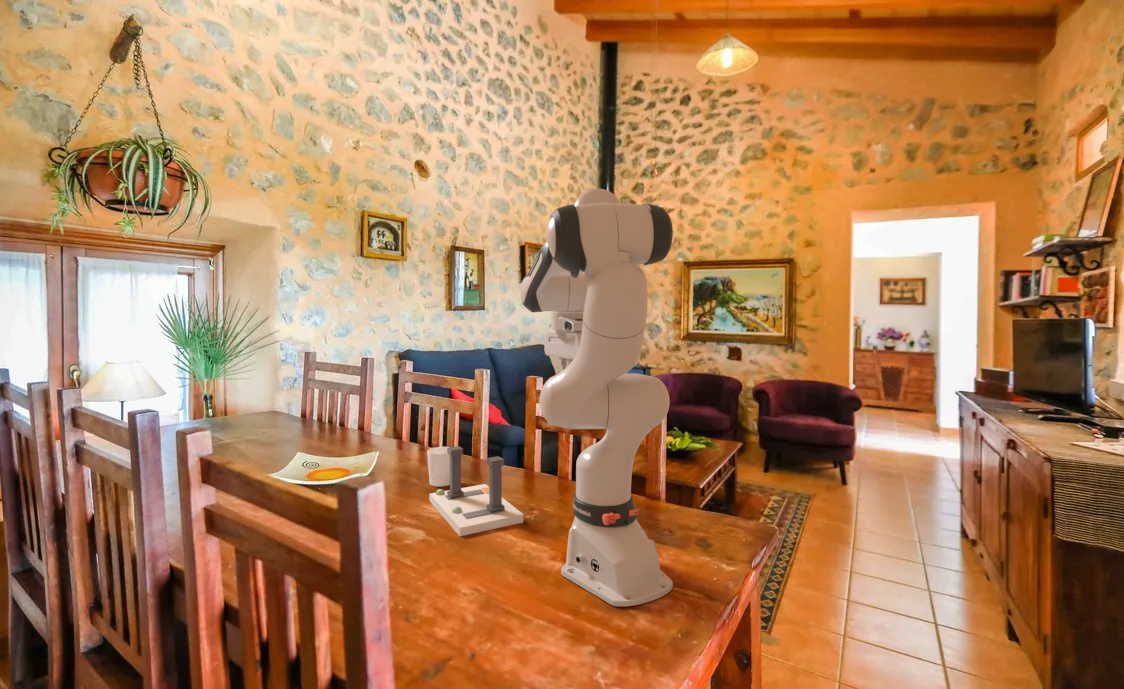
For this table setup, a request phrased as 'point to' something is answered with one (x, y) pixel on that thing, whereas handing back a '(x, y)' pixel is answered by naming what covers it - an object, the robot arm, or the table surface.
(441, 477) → the white cup
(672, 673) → the table surface
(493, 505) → the post
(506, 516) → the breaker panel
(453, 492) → the post
